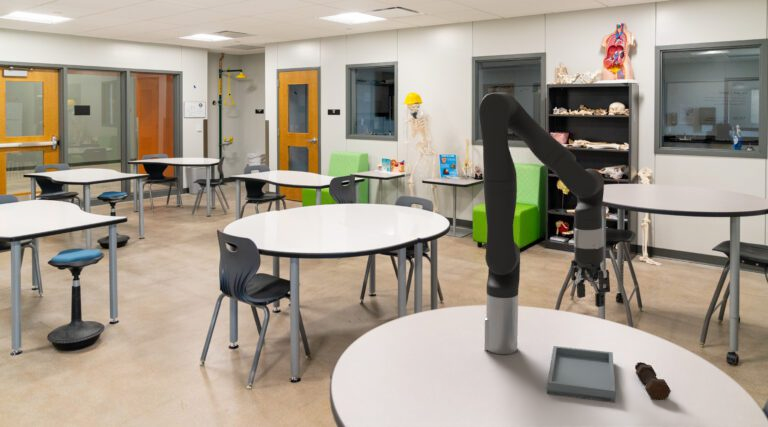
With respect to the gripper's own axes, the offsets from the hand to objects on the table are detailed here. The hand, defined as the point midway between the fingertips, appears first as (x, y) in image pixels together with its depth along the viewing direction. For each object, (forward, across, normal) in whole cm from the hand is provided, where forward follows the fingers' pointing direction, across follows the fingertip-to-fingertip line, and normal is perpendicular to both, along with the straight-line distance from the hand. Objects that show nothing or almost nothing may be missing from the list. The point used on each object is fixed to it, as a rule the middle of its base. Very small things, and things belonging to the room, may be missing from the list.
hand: (590, 301), depth 163 cm
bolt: (+20, +15, +7) cm, 26 cm away
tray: (+18, +5, -7) cm, 20 cm away
